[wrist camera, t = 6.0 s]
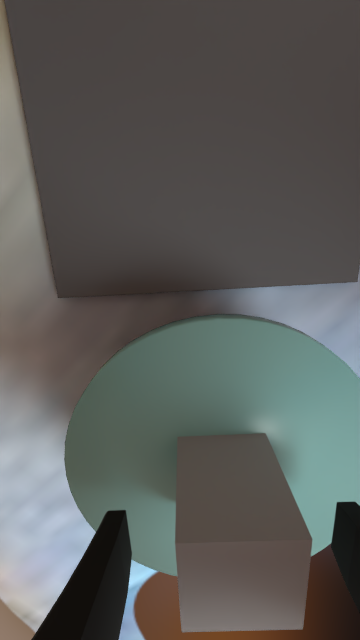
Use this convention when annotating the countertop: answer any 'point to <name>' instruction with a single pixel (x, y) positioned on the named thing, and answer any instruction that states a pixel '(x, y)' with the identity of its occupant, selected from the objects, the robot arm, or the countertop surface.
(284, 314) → the countertop surface
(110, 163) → the mat
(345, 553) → the robot arm
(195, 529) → the lid
